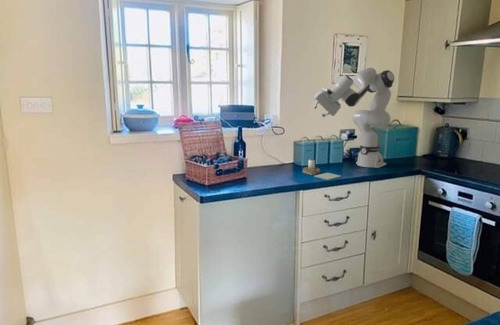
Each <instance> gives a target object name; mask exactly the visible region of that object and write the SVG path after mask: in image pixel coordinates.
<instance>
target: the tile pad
mask: <svg viewBox="0 0 500 325" xmlns="http://www.w3.org/2000/svg"><path fill="white" fill-rule="evenodd" d="M313 177H314V178H317V179H318V178H319V179H322V180H326V181H330V180H333V179H335V180H336V179H338V178H341V177H342V175H340V174H339V175H338V174H335V173H331V172H325V173H318V174H314V175H313Z"/></svg>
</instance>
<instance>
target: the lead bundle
mask: <svg viewBox="0 0 500 325" xmlns="http://www.w3.org/2000/svg"><path fill="white" fill-rule="evenodd" d="M315 162H316V160H315V159H314V158H310V159H308V166H307V167H308V169H311V170H313V169H315V168H316V167H315V166H316V165H315V164H316V163H315Z"/></svg>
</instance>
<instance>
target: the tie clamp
mask: <svg viewBox="0 0 500 325" xmlns="http://www.w3.org/2000/svg"><path fill="white" fill-rule="evenodd" d="M320 172H321V169H320V168H318V167H315V169H313V170H311V169H308V166H307V167H302V173H303V174H307V175H311V176H312V175H313V176H314V175H319V174H321V173H320Z"/></svg>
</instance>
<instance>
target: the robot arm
mask: <svg viewBox="0 0 500 325" xmlns="http://www.w3.org/2000/svg"><path fill="white" fill-rule="evenodd" d="M394 80H395V74H394V73H393V72H392V71H391V70H387V69H386V70H383V71H382V72H379V73H377V70H376V69H375V68H373V67H367V68H366V67H365V68H364V69H362V70H360V71H358V72H357V73H356V74H355V75H354V79H353V78H351V77H349V75H347V74H344V75H343V76H342V77H341V78H339V79H338V80H337V81H336V82H335V84H334V85H333V86H332V87H331V88H327V87H326V86H323V87H322V88H321V89H319V90H318V91H317V92H315V93H314V95H313V98H314V100H315V102H314V105H313V106H312V108H313V109H314V110H316V109H317V108H318V104H319V105H320V106H321V107H322V108H323V109H324V110H325V111H326V112H325V113H322V114H321V117H322V118H325V117H326V116H329V115H330V116H331V117H334V116H335V115H336V114H337V113H338V111H339V110H340V109H341V107H342V105H341V103H340V102H339V100H341V101H342V102H344V103H345V104H346V105H347V106H348V107H356V106H357V105H358V103H359V102H360V101H361V100H362V98H364V96H365V95H366V94H367V92H368V93H370V94H373V93H375V94H374V96H373V98H372V100H371V101H370V103H369V109H370V110H368V109H361V110H356V111H355V112H354V113H353V115H352V121H353V123H354V124H355V125H356V126H357V128H358V129H359V132H360V146H359V152H358V154H357V161H356V162H355V164H356V165H357V166H359V167H364V168H376V169H377V168H381V167H384V166H386V165H387V163H386V162H384V156H383V155H382V154H381V153H380V152H379V150H380V149H381V145H378V144H379V143H378V140H379V136H378V134H377V133H376V131H374V130H373V129H372V127H376V128H383V127H387V126H388V125H389V124H390V122H391V115H390V113H389V112H388V111H386V109H387V106H388V104H389V102H390V99H391V96H392V92H391V90H390V88H392V87H393V84H394V82H395V81H394ZM353 84H354V85H355V87H356V88H357V89H358V92H357V91H355V90H354V89H353V88H352V85H353Z"/></svg>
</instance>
